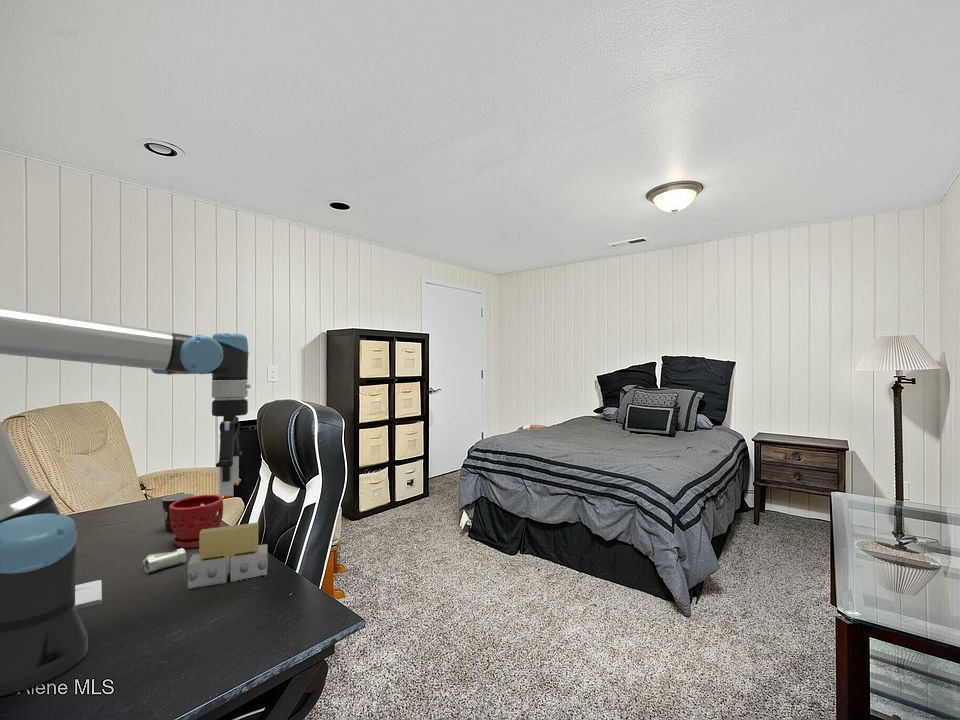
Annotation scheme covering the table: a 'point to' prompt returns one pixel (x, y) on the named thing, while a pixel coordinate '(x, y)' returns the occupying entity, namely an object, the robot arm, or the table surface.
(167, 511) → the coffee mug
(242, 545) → the tan notched arch block
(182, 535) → the plant pot
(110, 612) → the table surface
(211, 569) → the twin gray knob boxes
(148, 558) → the pipe fitting
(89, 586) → the external hard drive
